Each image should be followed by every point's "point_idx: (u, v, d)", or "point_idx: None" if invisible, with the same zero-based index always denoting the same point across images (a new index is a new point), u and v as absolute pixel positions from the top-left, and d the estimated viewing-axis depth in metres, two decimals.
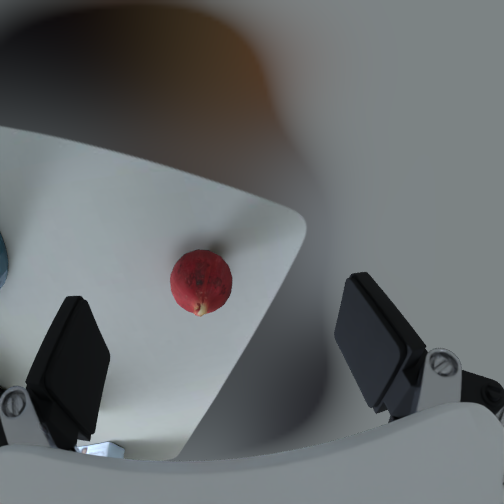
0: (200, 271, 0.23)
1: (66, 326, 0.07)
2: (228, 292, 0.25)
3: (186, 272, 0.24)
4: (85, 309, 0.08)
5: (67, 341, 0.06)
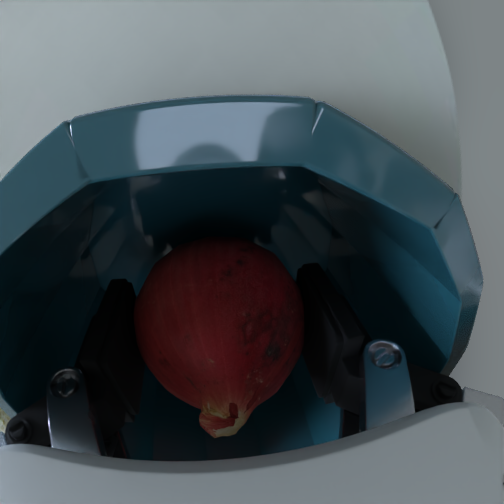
0: (288, 322, 0.08)
1: (115, 306, 0.08)
2: None
3: (253, 296, 0.07)
4: (131, 291, 0.09)
5: (119, 319, 0.07)
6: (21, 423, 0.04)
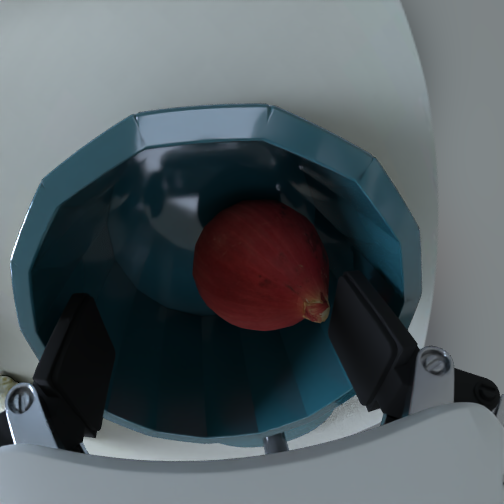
0: None
1: (73, 322, 0.07)
2: None
3: (302, 224, 0.11)
4: (91, 306, 0.08)
5: (74, 337, 0.07)
6: None
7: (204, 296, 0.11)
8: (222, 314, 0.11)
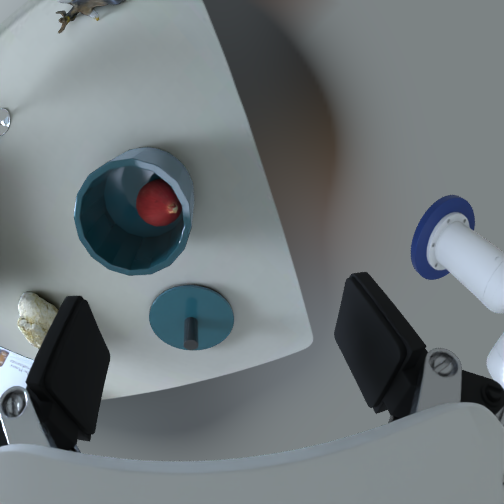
0: None
1: (65, 326, 0.07)
2: None
3: None
4: (85, 309, 0.08)
5: (67, 341, 0.06)
6: None
7: (139, 212, 0.32)
8: (145, 217, 0.31)
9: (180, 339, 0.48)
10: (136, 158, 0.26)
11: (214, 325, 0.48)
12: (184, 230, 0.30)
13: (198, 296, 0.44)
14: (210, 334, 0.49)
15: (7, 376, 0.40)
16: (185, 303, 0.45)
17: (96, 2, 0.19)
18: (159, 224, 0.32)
